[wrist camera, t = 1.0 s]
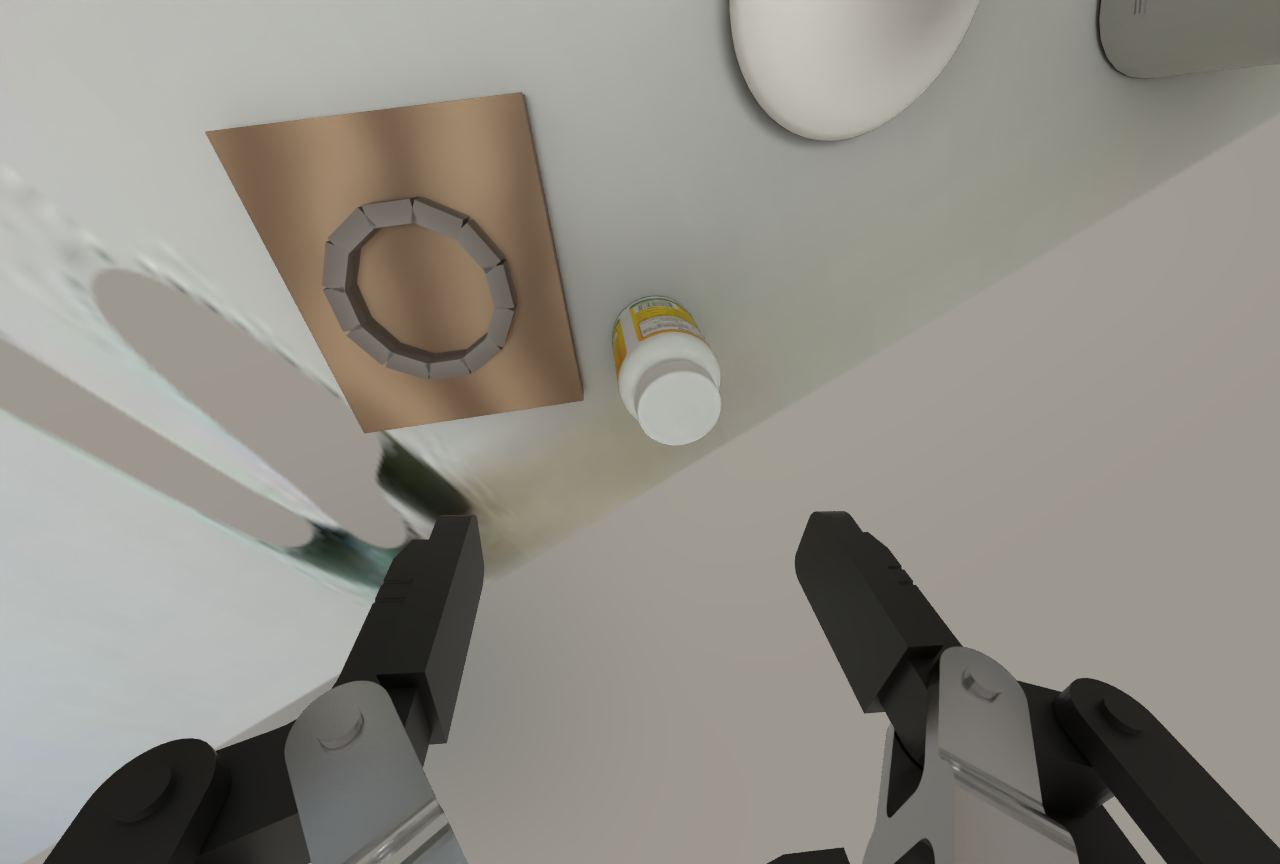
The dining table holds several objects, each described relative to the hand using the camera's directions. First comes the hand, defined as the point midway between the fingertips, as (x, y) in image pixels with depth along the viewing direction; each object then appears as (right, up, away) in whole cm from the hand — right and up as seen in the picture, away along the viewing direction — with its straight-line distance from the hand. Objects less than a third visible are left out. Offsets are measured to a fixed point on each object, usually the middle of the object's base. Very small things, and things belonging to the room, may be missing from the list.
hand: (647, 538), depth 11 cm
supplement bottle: (+1, +9, +18) cm, 20 cm away
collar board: (-12, +11, +15) cm, 22 cm away
